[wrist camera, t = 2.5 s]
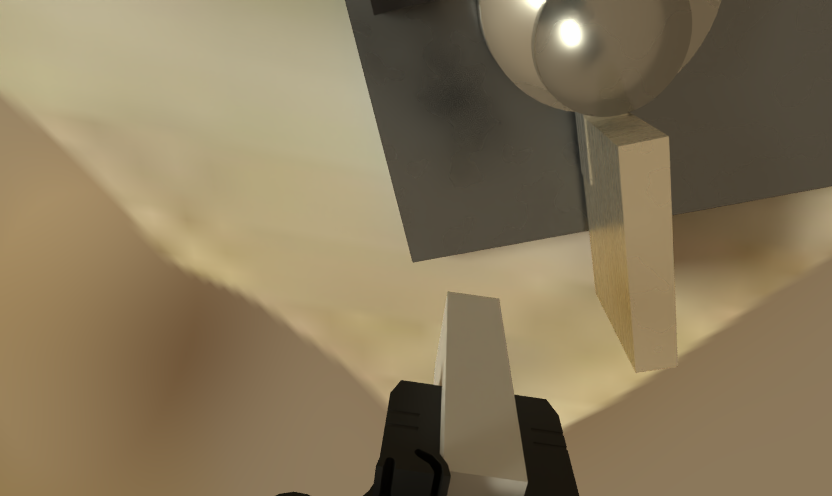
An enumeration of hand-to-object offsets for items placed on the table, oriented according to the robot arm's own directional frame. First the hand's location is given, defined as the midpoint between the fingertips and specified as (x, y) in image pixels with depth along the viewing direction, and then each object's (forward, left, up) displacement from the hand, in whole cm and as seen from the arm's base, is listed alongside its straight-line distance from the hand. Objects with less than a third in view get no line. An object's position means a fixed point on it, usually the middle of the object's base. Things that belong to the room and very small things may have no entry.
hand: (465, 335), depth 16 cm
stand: (-7, +7, -12) cm, 16 cm away
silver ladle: (-4, +6, -9) cm, 12 cm away
